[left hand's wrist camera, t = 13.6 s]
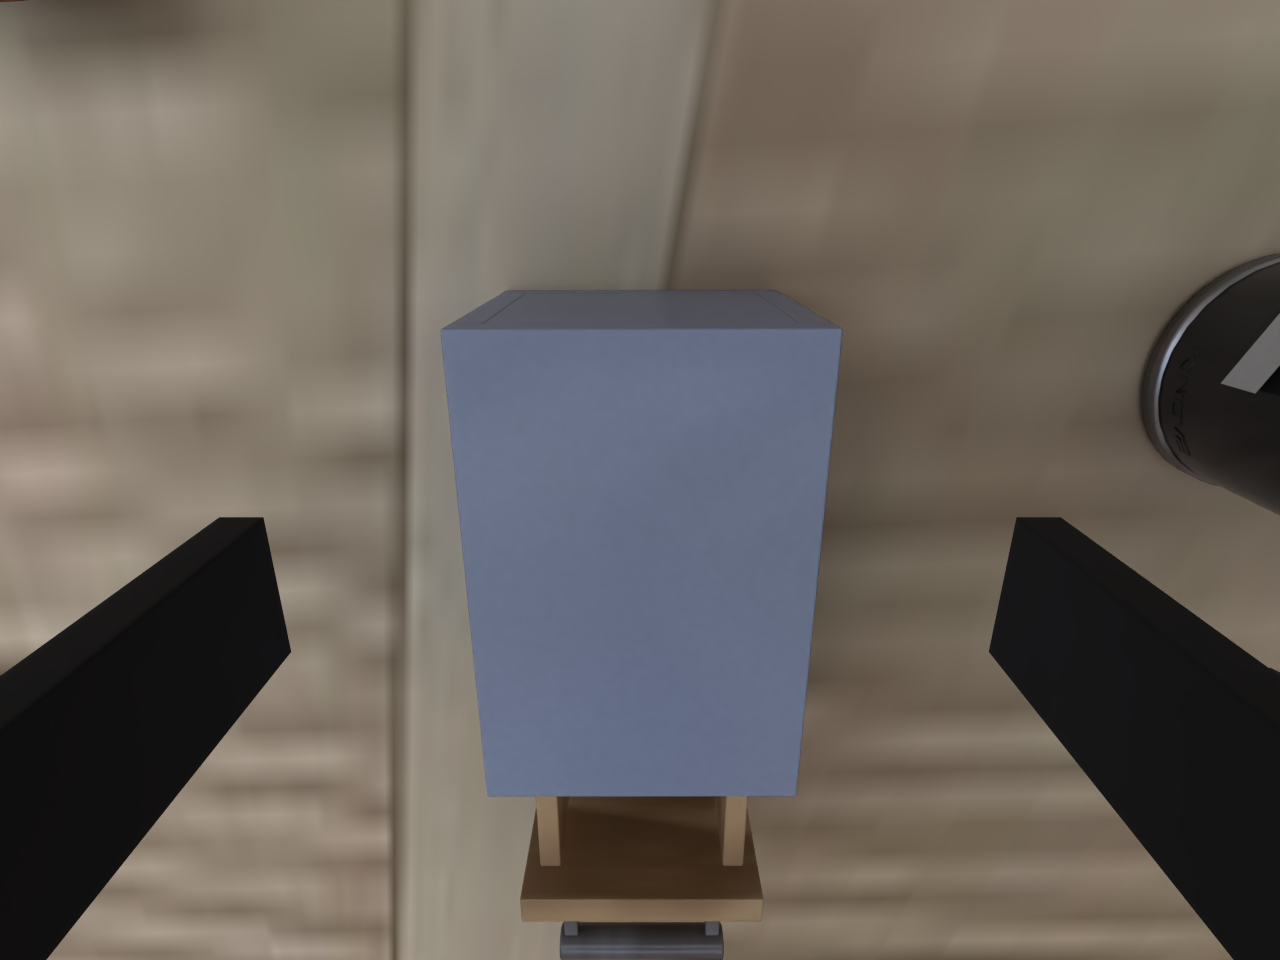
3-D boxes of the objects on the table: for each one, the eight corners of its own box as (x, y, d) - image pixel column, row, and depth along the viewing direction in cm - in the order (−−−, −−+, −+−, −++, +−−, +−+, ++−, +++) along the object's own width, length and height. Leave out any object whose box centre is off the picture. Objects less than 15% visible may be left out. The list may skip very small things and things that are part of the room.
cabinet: (754, 638, 33) (796, 797, 24) (528, 638, 33) (486, 797, 24) (777, 290, 28) (844, 328, 19) (505, 290, 28) (439, 328, 19)
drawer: (732, 852, 37) (754, 1008, 30) (551, 852, 37) (529, 1008, 30) (753, 501, 30) (789, 593, 23) (529, 501, 30) (493, 594, 23)
